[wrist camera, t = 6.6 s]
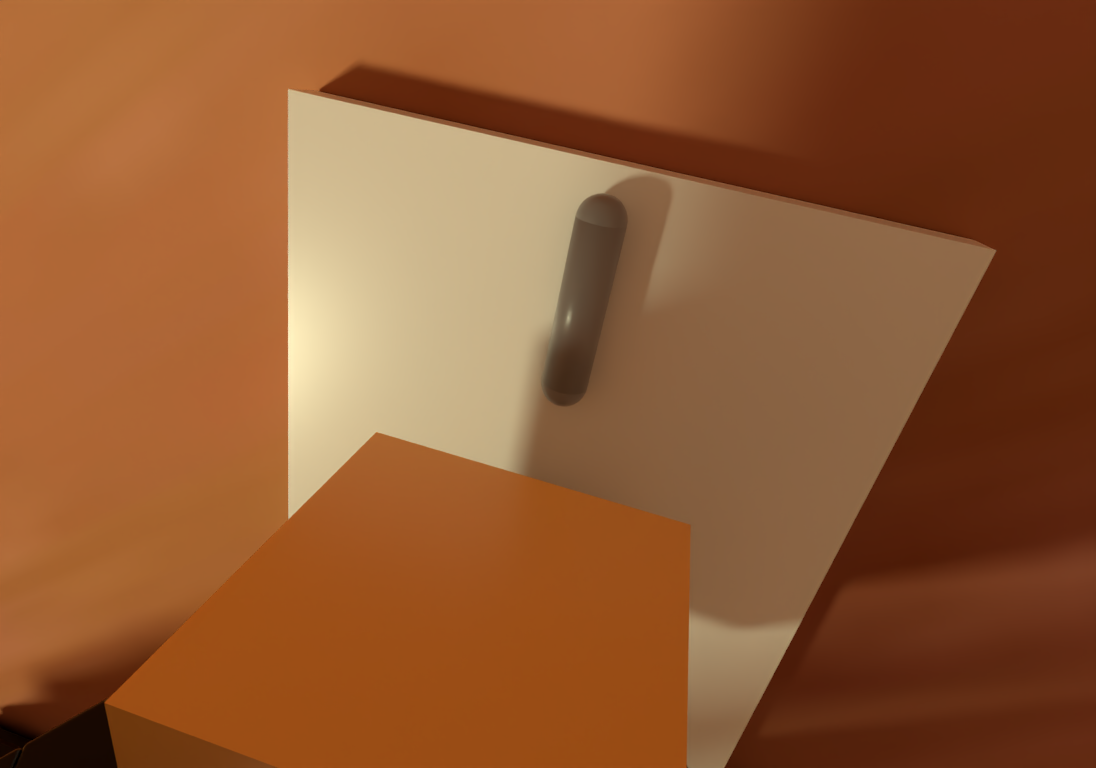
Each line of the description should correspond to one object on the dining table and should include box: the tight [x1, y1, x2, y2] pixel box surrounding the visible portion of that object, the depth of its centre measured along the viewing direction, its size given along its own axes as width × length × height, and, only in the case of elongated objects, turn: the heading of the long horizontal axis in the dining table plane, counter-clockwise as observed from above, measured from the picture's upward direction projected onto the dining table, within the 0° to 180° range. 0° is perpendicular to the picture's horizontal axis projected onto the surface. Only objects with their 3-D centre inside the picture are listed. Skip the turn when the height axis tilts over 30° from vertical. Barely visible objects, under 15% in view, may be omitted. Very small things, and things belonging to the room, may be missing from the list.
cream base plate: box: [288, 89, 997, 768], centre depth 11 cm, size 14×11×5 cm
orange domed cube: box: [104, 432, 691, 768], centre depth 8 cm, size 5×5×6 cm
